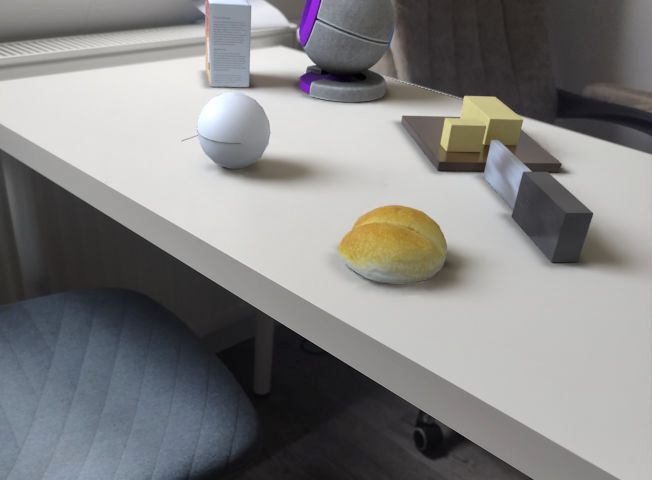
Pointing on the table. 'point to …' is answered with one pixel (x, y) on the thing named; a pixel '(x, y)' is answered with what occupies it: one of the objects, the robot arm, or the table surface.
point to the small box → (228, 42)
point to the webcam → (345, 47)
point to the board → (429, 140)
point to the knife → (539, 205)
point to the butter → (493, 119)
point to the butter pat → (462, 135)
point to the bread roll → (394, 245)
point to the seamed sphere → (233, 130)
